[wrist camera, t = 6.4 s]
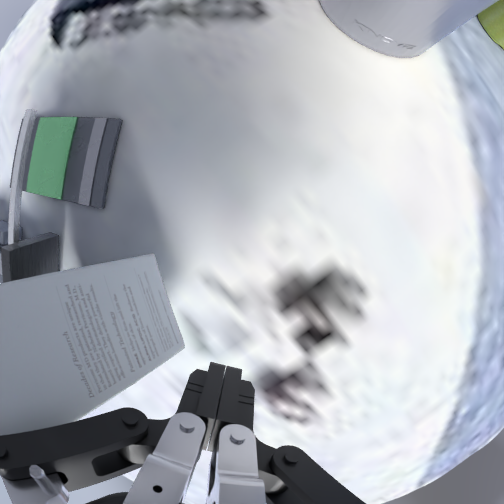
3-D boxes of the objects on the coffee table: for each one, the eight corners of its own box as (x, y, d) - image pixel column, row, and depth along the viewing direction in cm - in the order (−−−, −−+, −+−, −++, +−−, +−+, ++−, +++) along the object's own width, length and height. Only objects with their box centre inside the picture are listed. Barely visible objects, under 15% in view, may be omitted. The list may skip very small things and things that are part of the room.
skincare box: (111, 352, 18) (-47, 432, 4) (84, 276, 18) (-90, 327, 4) (194, 345, 15) (-35, 498, 1) (158, 242, 14) (-124, 308, 1)
